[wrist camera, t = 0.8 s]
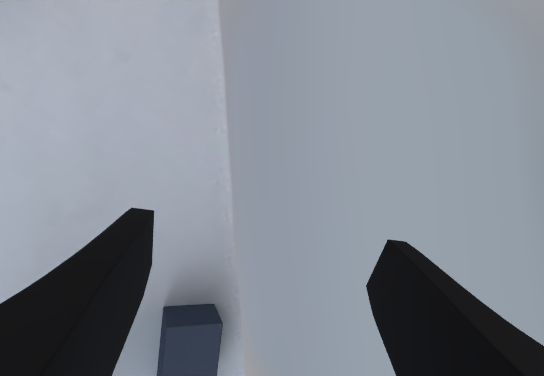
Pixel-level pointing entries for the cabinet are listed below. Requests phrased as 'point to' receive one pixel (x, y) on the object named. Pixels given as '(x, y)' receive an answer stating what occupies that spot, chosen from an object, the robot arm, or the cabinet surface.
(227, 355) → the cabinet surface
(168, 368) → the dark blue block
